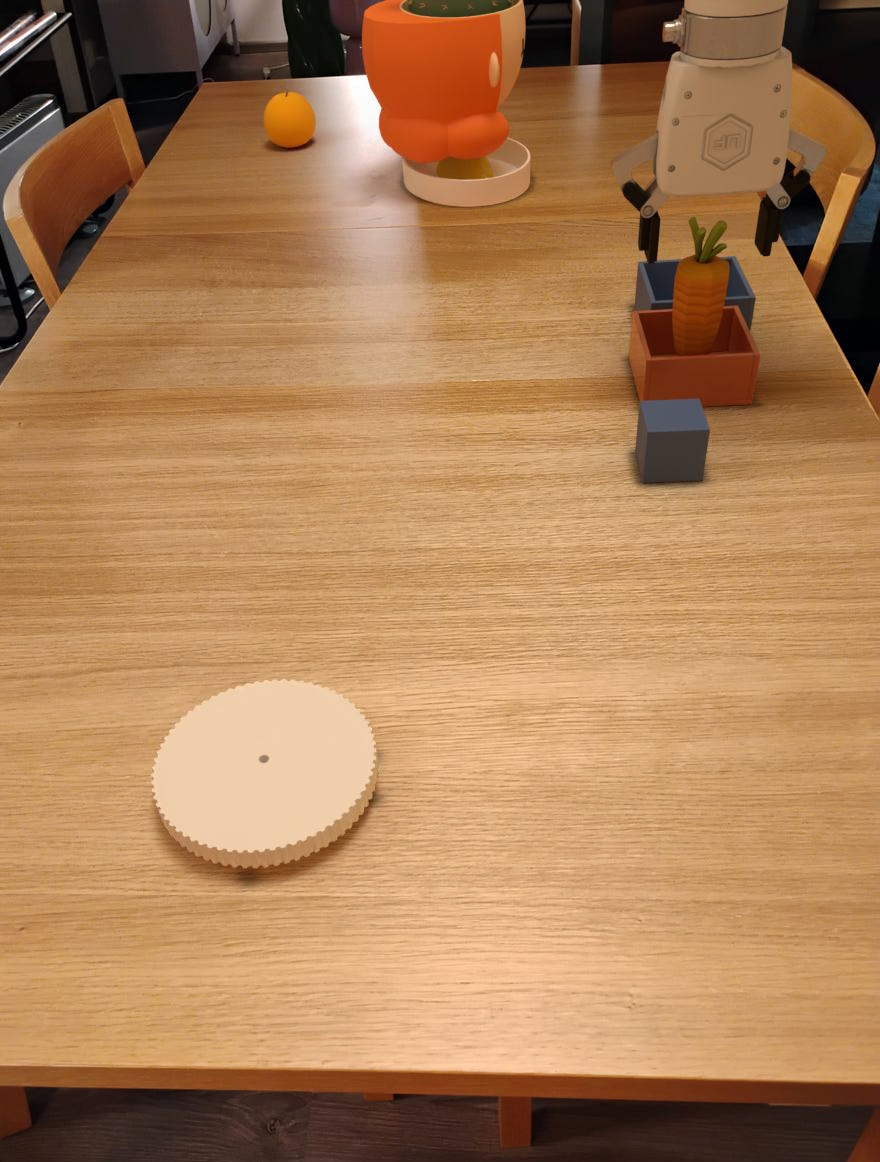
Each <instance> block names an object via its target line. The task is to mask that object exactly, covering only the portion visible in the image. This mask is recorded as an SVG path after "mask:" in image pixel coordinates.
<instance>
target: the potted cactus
mask: <svg viewBox="0 0 880 1162" xmlns="http://www.w3.org/2000/svg"><path fill="white" fill-rule="evenodd" d="M526 26H527V25H526V11H525V6H524V0H382V1H379V2H377V3H375V4H373V5H370V6H369V7H368V8H367V9H365V10H364V13H363V18H362V27H361V28H362V30H361V49H362V50H361V51H362V52H361V53H362V60H363V66H364V72H365V75H366V78H367V82H368V85H369V89H370V90H371V92H372V94H373V96H374V97H375V99H376V101H377V103H378V104H379V107H380V112H379V116H378V128H379V130H378V131H379V134H380V136H381V139H382V141H383V143H385V144H386V146H388V147H389V148H391V149H392V151H393V152H394V153H396V154H397V155H399V156H400V157H401V161H402V173H403V174H402V175H403V184H404V186H405V188H406V190H407V191H408V192H410V193H411V194H413V195H414V196H415V197H417V198H420V199H421V200H424V201H427V202H430V203H434V204H438V205H444V206H448V207H449V206H451V207H463V208H471V207H473V208H474V207H475V208H476V207H485V206H486V207H487V206H493V205H497V204H502V203H506V202H509V201H511V200H514V199H516V198H518V197H520V196H521V195H523V194H524V193H525V192H526V191H527V190H528V189H529V187H530V185H531V152H530V150H529V149H528V148H527V147H526V146H525V145H524V144H523V143H521V142H520V141H517V140H516V139H513V138H511V137H508V136H509V134H510V126H509V122H508V120H507V118H506V117H505V115H503V113H501V112H500V111H498V109H499V108H500V107H501V105H502V104H503V103H504V102H505V101H506V99H507V98H508V96H509V94H510V93H511V92H512V91H513V88H514V86H515V84H516V81H517V79H518V76H519V74H520V70H521V67H522V63H523V59H524V57H525V44H526V28H527V27H526Z"/></svg>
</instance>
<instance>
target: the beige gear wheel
mask: <svg viewBox="0 0 880 1162" xmlns="http://www.w3.org/2000/svg"><path fill="white" fill-rule="evenodd" d="M209 698H210V699H208V700H207V699H204V700H203V701H202V702H201V704H197V705H195V706H194V709H193V710H189V711H187V713H186V715H183V716H181V717H180V721H179V722H175V724H174V727H173V728H170V729H169V731H168V735H165V736H164V738H163V742H161V743H160V745H159V748H160V749H159V750H156V753H155V754H156V756H157V757H154V759H153V764H154V765H152V767H151V770H152V773H151V774H150V778H151V781H150V785H151V787H152V788H151V793H152V796H153V801H154V804H155V806H156V809H157V811H158V813H159V817H160V819H161V822H162V823H163V825H164V828H165V829H166V830H167V831H168V834H169V835H170V836H171V837H172V836H173V839H174V841H175V842H176V843H177V842H178V843H179V844H180V846H181V847H182V848H185V847H186V850H187V852H188V853H194V855H195V856H196V857H197V858H200V857H202V858H203V860H204V861H209V860H211V861H212V863H213V864H216V865H217V864H218V863H221V866H224V867H227V866H228V865H230V866H231V867H232V868H238V866H241V868H242V869H248V867H252V869H258V868H259V867H261V866H262V867H263V868H269V866H270V865H273V866H274V867H277V866H280V864H282V863H284V864H285V865H286V864H290V863H291V861H293V860H294V861H295V862H297V861H300V860H301V857H305V858H307V857H310V856H311V853H318V852H320V851H321V848H327V847H328V846H330V843H331V842H333V843H335V842H336V841H338V837H339V836H344V835H346V830H350V829H352V827H353V823H357V822H358V821H359V820H360V818H359V816H360V815H361V816H362V815H363V814H364V813H365V808H367V807H369V805H370V804H369V803H370V802H369V800H372V799H373V792H375V791H376V784H377V783H378V777H379V758H378V757H379V756H378V749H377V743H376V737H375V734H374V733H373V728H372V726H371V724H370V721H369V720H368V719H367V717H366V714H364V713H362V709H360V708H359V707H358V708H357V704H355V703H354V702H352V703H351V700H350V699H349V698H348V697H347V698H345V697H344V694H342V693H339V694H338V692H337V691H336V690H335V689H332V690H330V688H329V687H327V686H324V687H323V686H322V684H319V683H317V684H314V682H312V681H309V682H305V680H302V679H301V680H299V681H296V679H290V680H287V678H282V679H281V680H278V678H274V679H272V680H268V679H263V681H259V680H257V681H254V682H253V683H250V682H247V683H245V685H240V684H239V685H237V686H235V688H232V687H229V688H228V689H226V691H224V692H223V691H220V692H218V694H217V695H212V696H210V697H209Z"/></svg>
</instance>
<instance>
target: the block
mask: <svg viewBox="0 0 880 1162" xmlns="http://www.w3.org/2000/svg"><path fill="white" fill-rule="evenodd" d="M638 405H639V406H638V415H637V425H636V426H637V427H636V438H635V449H634V452H635V456H636V460H637V465H638V469H639V473H640V478H641V483H643V484H652V483H679V482H681V483H682V482H701V481H703V480H704V474H705V467H706V460H707V454H708V453H707V452H708V446H709V440H710V433H711V428H710V425H709V422H708V419H707V416H706V414H705V411H704V407H702V404H701V402H700V399H699V398H698V399H676V400H654V401H640V400H639V404H638Z"/></svg>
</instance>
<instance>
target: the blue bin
mask: <svg viewBox="0 0 880 1162" xmlns="http://www.w3.org/2000/svg"><path fill="white" fill-rule="evenodd" d="M719 257H720V258H722V259H724V260H726V261H727V262H728V263H729V266H730V272H729V280H728V286H727V292H726V298H725V303H724V306H738V307H739V309H740V311H741V313H742V316H743V318H744V320H745V322H746V324H747V327H748V329H749V331H750V332H751V330H752V325H753V318H754V311H755V305H756V299H757V297H756V295H755V293H754V291H753V289H752V287H751V285H750V282H749V281H748V279H747V277H746V275H745V273H744V271H743V269H742V267H741V264H740V262H739V261H738V258H737V256H736V255H732V256H719ZM682 259H683V258H680V259H679V258H678V259H677V258H676V259H661V260H659V259H657V262H655V263H653V264H648V262H647V260H641V261H640V260H639V261H637V272H636V282H635V293H634V294H635V296H634V305H633V306H634V311H645V310H664V309H673V295H674V283H675V276H676V271H677V267H678V264H679V261H681V260H682Z"/></svg>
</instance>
